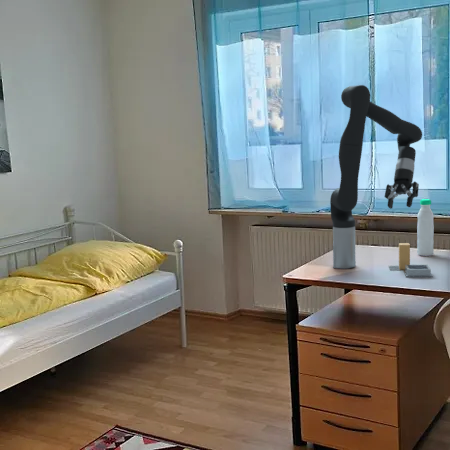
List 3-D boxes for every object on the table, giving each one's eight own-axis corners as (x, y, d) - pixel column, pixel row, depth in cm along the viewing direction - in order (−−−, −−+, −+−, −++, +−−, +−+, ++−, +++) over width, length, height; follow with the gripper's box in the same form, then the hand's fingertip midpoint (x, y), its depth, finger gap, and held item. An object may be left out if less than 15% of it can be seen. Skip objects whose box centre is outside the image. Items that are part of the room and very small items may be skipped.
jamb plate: (390, 271, 260) (390, 270, 260) (388, 266, 269) (388, 265, 269) (420, 271, 258) (420, 270, 258) (418, 266, 267) (418, 265, 267)
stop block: (399, 269, 262) (399, 245, 260) (398, 267, 266) (398, 243, 264) (409, 269, 261) (409, 244, 260) (408, 267, 265) (408, 243, 263)
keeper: (405, 278, 248) (405, 269, 248) (403, 272, 258) (403, 264, 257) (432, 278, 246) (432, 269, 246) (429, 272, 256) (429, 264, 256)
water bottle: (434, 256, 285) (434, 200, 282) (417, 256, 287) (418, 200, 283) (432, 253, 292) (433, 198, 289) (416, 253, 294) (416, 198, 290)
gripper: (384, 169, 273) (379, 205, 269) (415, 165, 263) (410, 202, 258) (394, 176, 278) (389, 211, 273) (424, 172, 267) (419, 209, 263)
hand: (399, 207), depth 266 cm, fingers open, 8 cm apart
